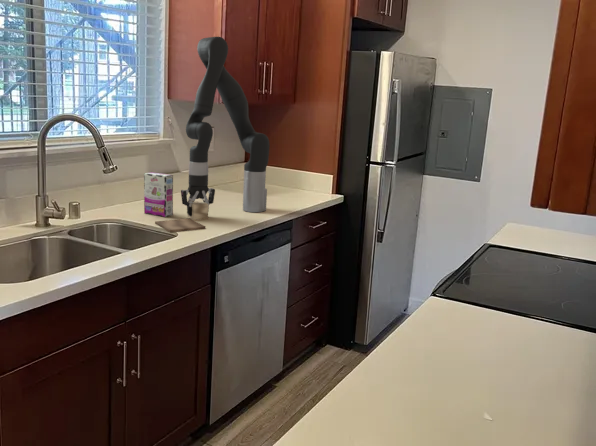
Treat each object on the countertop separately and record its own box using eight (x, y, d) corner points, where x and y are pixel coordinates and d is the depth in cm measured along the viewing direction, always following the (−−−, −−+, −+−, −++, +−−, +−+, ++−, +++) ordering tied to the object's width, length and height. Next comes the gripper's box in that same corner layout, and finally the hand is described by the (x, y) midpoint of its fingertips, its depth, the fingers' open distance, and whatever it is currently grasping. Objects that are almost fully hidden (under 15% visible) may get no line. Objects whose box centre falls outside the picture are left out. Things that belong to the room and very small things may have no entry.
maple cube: (201, 215, 238) (201, 201, 237) (208, 218, 233) (208, 204, 232) (187, 216, 235) (187, 202, 233) (194, 220, 230) (194, 205, 228)
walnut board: (189, 220, 229) (189, 218, 229) (205, 228, 218) (205, 226, 217) (155, 223, 221) (155, 221, 221) (169, 232, 210) (169, 230, 210)
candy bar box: (173, 215, 236) (173, 174, 232) (165, 217, 231) (165, 176, 227) (152, 211, 241) (152, 171, 237) (143, 213, 236) (143, 172, 232)
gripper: (210, 170, 237) (209, 211, 241) (177, 172, 229) (177, 214, 233) (219, 173, 231) (218, 215, 235) (185, 175, 223) (184, 218, 227)
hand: (197, 214), depth 234 cm, fingers closed on maple cube, 6 cm apart
